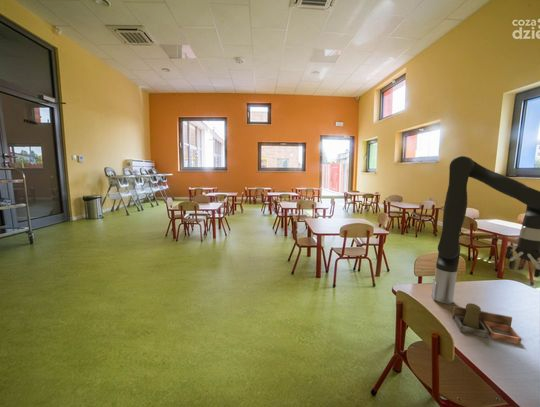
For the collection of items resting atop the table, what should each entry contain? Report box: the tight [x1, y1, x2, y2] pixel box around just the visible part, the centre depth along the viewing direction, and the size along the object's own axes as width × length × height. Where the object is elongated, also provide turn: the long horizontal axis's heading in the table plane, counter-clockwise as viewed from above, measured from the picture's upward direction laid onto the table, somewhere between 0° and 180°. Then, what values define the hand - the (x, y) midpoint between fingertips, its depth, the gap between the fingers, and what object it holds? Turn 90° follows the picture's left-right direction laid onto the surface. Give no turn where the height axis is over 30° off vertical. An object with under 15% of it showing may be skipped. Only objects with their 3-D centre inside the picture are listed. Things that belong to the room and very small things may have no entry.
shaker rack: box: [451, 305, 522, 346], centre depth 113 cm, size 21×11×6 cm, turn 68°
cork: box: [462, 302, 482, 329], centre depth 114 cm, size 6×6×11 cm
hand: (523, 272), depth 116 cm, fingers open, 8 cm apart
